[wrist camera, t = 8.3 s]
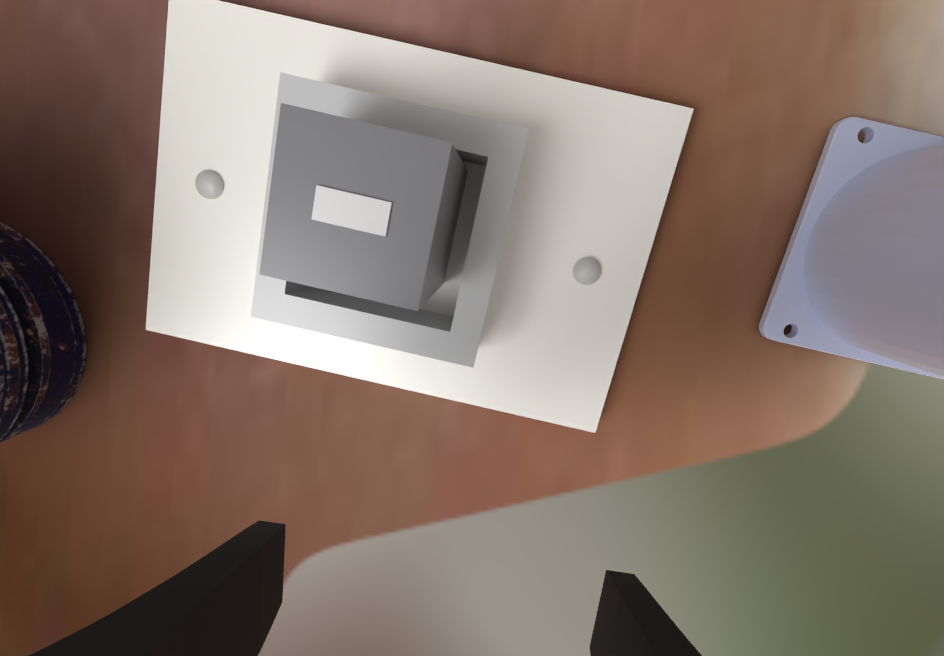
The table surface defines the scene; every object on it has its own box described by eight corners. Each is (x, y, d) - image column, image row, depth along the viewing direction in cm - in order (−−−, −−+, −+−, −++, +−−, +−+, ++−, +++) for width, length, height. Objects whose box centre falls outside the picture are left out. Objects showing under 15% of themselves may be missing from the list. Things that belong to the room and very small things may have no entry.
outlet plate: (682, 115, 17) (729, 87, 13) (590, 422, 19) (610, 464, 16) (188, 2, 17) (109, -54, 13) (163, 324, 19) (92, 345, 16)
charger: (467, 171, 17) (452, 141, 11) (444, 282, 17) (417, 312, 12) (356, 145, 17) (279, 102, 11) (338, 257, 17) (257, 274, 12)
